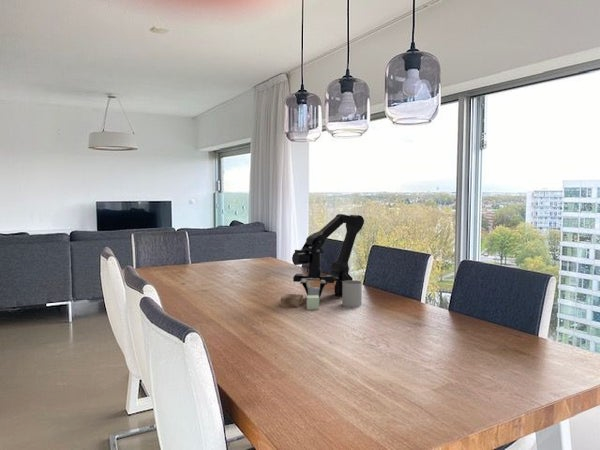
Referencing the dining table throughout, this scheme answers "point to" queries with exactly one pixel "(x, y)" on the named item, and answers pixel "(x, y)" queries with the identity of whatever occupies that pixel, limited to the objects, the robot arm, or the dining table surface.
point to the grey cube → (313, 291)
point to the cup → (352, 293)
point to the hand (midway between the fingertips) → (314, 296)
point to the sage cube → (312, 302)
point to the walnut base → (291, 300)
